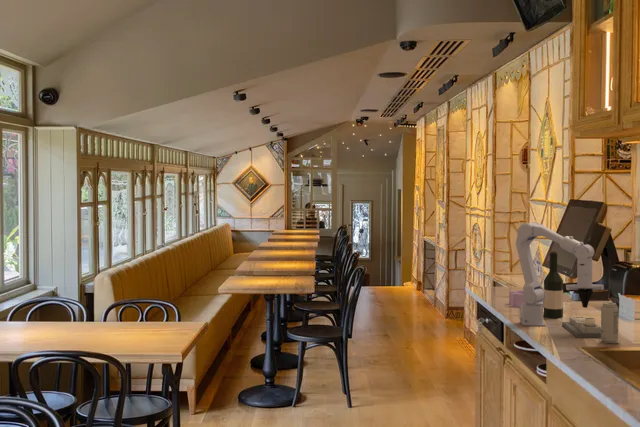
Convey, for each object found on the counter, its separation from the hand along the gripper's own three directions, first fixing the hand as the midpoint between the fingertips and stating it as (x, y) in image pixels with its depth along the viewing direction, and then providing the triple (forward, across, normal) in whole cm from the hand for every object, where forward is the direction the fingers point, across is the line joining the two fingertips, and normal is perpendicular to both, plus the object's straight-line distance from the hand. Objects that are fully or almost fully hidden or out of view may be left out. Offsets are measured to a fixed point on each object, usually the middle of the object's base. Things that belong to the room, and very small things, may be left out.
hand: (584, 307), depth 275 cm
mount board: (+10, 0, 0) cm, 10 cm away
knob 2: (+8, 0, 0) cm, 8 cm away
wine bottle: (+10, -5, +30) cm, 32 cm away
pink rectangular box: (+10, -9, +56) cm, 58 cm away
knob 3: (+6, 0, -7) cm, 9 cm away
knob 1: (+8, 0, +7) cm, 11 cm away
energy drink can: (+10, +4, -18) cm, 21 cm away
